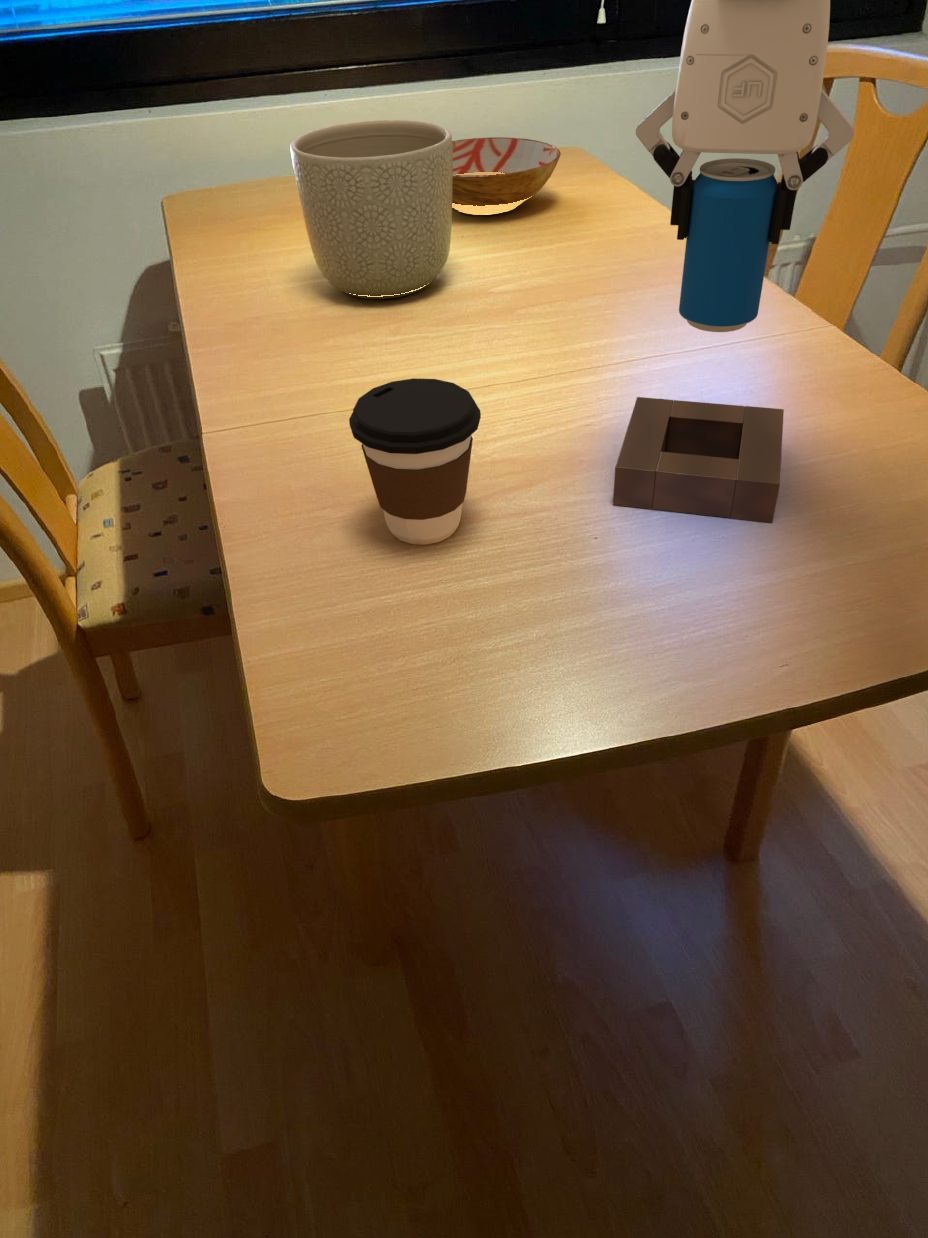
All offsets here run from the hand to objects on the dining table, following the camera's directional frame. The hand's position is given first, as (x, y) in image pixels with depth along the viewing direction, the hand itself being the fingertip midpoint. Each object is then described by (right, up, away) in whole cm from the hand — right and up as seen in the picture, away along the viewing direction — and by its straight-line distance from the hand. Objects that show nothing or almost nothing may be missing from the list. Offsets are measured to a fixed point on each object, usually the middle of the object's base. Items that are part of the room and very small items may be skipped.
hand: (728, 234), depth 74 cm
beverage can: (0, -6, +5) cm, 7 cm away
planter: (-32, +17, +58) cm, 68 cm away
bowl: (-17, +40, +85) cm, 95 cm away
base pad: (+1, -17, +15) cm, 22 cm away
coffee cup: (-25, -22, +10) cm, 35 cm away
